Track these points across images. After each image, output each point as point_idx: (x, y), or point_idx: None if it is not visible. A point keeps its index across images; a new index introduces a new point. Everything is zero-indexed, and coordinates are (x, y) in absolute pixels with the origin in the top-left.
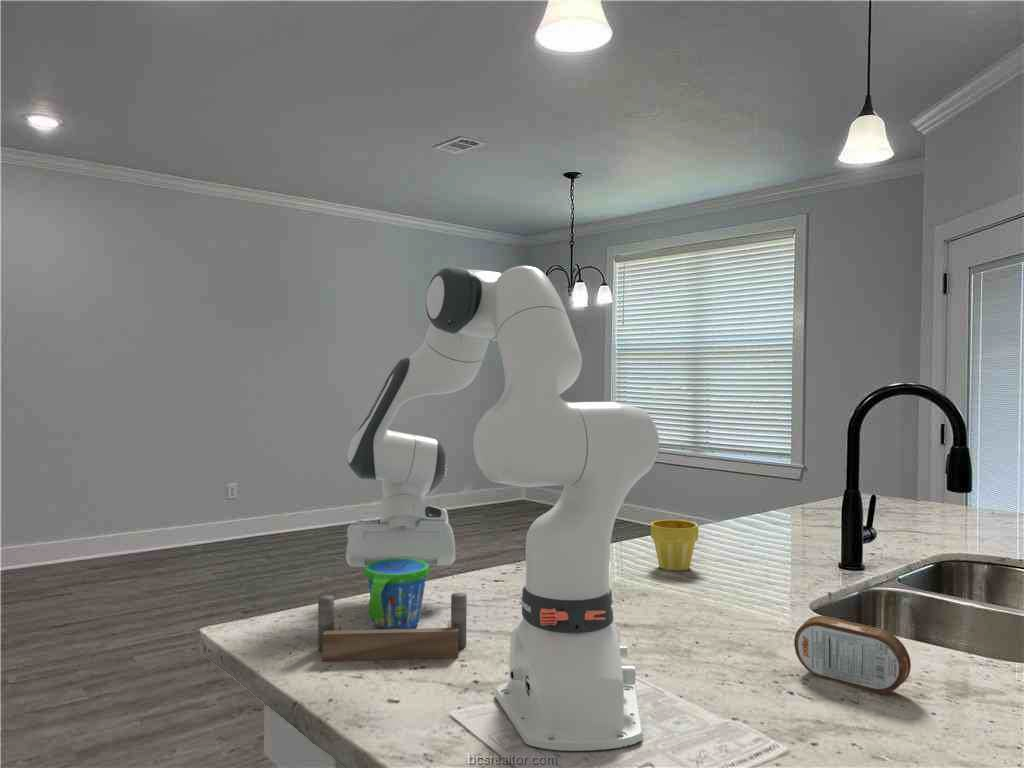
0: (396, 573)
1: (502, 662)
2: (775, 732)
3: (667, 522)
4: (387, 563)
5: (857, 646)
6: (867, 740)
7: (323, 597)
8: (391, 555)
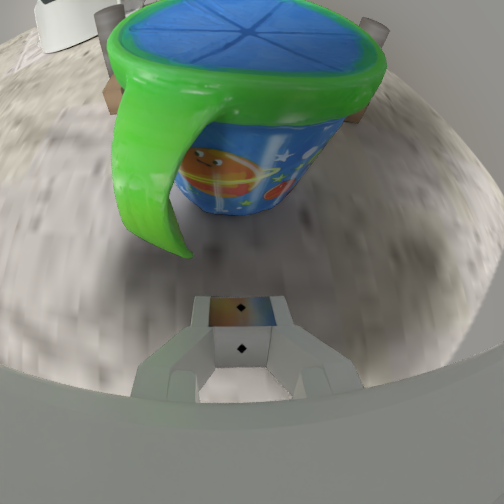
0: (247, 6)
1: (94, 56)
2: (23, 38)
3: None
4: (312, 64)
5: None
6: (2, 47)
7: (381, 26)
8: (349, 397)
